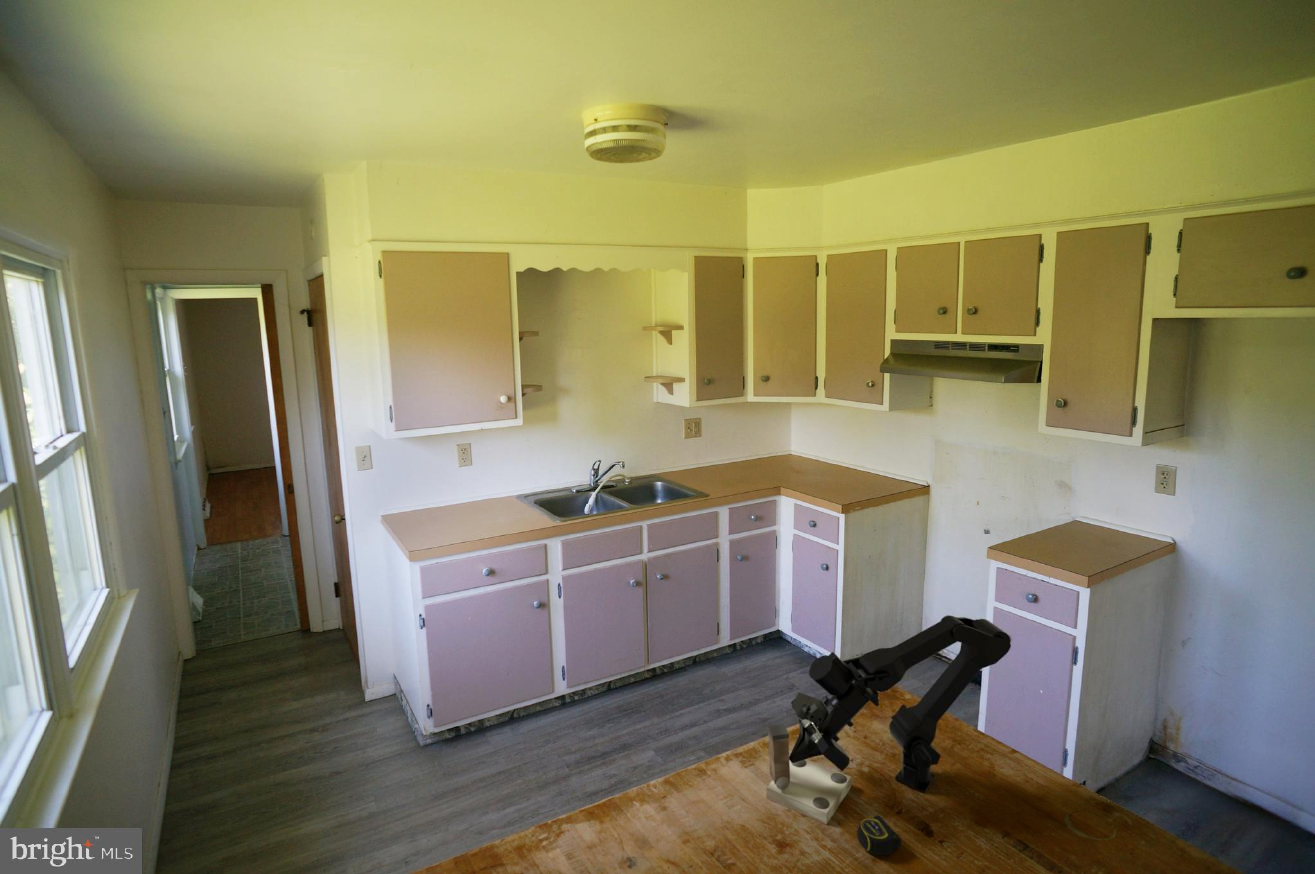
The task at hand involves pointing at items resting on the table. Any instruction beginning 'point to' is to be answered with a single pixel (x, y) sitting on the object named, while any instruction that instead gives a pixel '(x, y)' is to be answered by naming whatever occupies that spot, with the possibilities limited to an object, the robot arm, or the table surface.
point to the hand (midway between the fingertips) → (790, 760)
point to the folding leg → (779, 755)
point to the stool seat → (811, 790)
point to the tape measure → (877, 836)
